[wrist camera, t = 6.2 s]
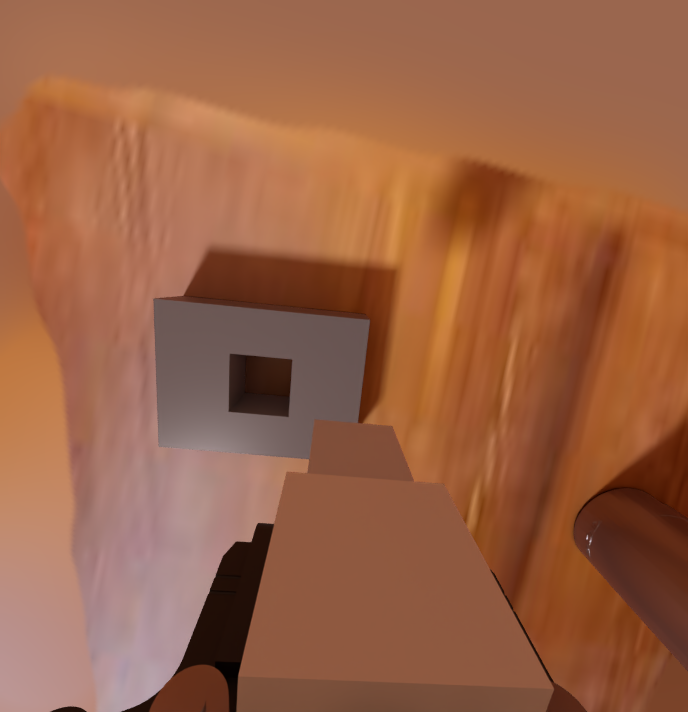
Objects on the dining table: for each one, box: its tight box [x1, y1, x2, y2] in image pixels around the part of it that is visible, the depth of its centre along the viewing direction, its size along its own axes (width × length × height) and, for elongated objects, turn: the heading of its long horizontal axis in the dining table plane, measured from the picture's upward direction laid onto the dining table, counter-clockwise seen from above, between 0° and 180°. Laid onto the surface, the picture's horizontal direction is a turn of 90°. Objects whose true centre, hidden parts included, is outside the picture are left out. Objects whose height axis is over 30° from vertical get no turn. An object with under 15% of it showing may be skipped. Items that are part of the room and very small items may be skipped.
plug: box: [236, 419, 554, 712], centre depth 10 cm, size 5×5×11 cm
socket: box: [154, 296, 370, 459], centre depth 27 cm, size 16×12×4 cm
